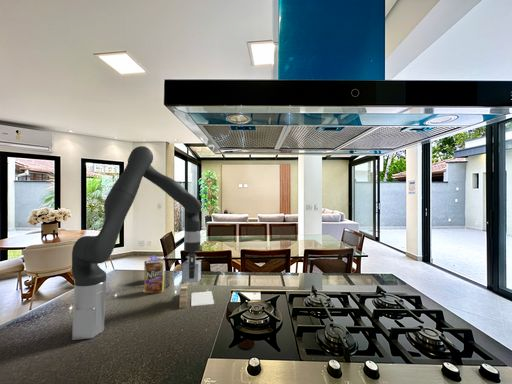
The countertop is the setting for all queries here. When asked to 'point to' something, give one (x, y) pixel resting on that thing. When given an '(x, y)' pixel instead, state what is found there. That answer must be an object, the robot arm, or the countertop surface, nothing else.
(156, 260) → the ink cartridge box
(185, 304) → the ledge
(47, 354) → the countertop surface
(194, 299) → the mat
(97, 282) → the robot arm
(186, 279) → the medicine box
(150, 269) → the candy box
